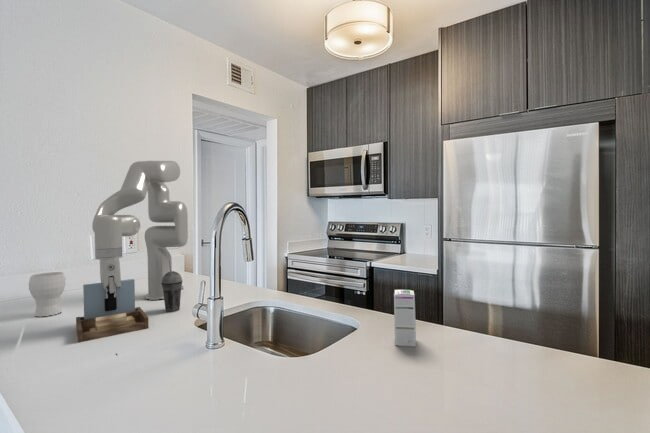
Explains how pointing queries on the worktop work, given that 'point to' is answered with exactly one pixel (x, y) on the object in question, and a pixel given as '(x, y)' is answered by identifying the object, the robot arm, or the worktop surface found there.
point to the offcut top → (111, 319)
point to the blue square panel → (97, 296)
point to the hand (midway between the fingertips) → (110, 308)
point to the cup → (47, 292)
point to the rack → (86, 335)
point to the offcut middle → (116, 324)
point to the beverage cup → (172, 290)
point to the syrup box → (404, 318)
